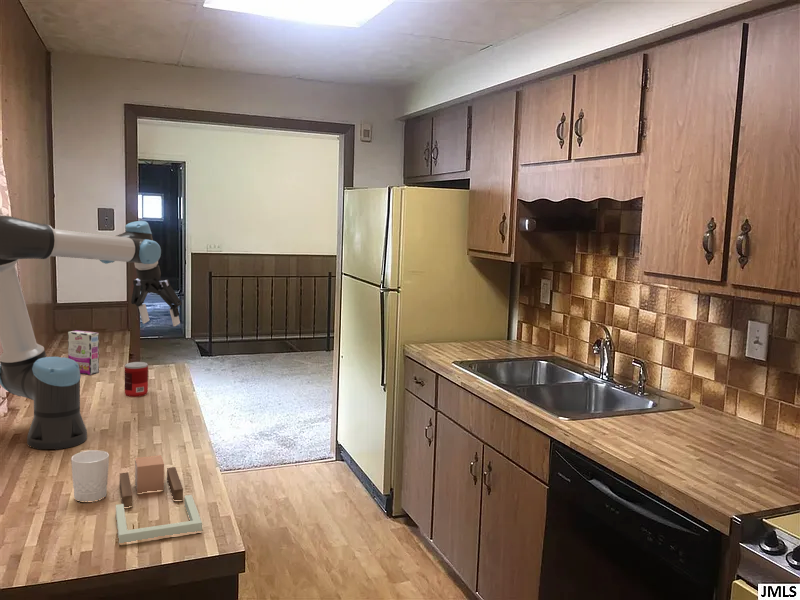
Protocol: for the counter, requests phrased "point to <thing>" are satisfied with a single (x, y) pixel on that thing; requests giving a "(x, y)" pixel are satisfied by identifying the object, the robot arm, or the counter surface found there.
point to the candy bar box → (84, 350)
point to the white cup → (90, 475)
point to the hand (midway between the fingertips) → (161, 323)
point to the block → (149, 473)
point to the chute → (172, 480)
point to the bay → (160, 530)
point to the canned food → (136, 379)
